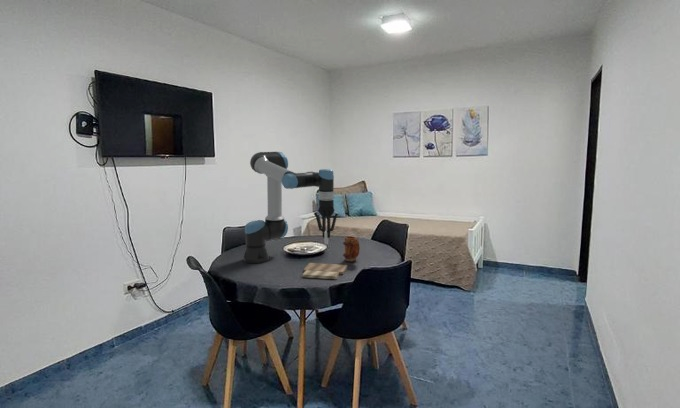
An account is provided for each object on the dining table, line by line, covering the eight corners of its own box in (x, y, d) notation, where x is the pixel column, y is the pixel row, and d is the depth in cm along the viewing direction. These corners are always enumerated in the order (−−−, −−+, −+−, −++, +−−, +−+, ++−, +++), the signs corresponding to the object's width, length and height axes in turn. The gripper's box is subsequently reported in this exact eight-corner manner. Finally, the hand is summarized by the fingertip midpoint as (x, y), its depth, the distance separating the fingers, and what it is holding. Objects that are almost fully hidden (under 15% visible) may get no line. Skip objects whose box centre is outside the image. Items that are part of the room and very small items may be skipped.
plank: (302, 277, 194) (302, 274, 194) (306, 272, 201) (306, 270, 201) (336, 279, 190) (336, 276, 190) (339, 274, 198) (339, 272, 198)
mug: (341, 259, 225) (340, 235, 223) (353, 257, 228) (353, 233, 226) (351, 266, 212) (351, 240, 209) (364, 264, 215) (364, 238, 213)
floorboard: (303, 272, 202) (303, 269, 202) (309, 265, 214) (309, 262, 214) (343, 274, 198) (343, 272, 197) (347, 267, 209) (347, 264, 209)
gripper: (312, 200, 189) (312, 244, 193) (337, 200, 187) (336, 246, 191) (316, 197, 197) (316, 241, 201) (340, 198, 194) (340, 242, 198)
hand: (326, 243), depth 196 cm, fingers closed
